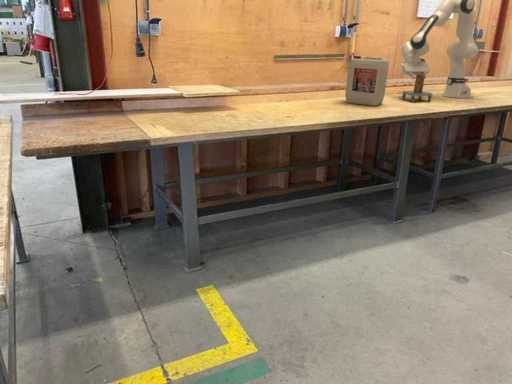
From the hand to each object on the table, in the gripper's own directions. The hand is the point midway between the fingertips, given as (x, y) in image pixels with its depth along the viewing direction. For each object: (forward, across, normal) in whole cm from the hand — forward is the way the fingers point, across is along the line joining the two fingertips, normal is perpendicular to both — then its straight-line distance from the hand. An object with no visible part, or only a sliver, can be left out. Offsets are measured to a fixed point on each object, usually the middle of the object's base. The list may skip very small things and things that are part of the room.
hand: (419, 78), depth 291 cm
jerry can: (+13, -44, +9) cm, 47 cm away
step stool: (+11, 0, +10) cm, 15 cm away
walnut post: (+7, 0, +6) cm, 9 cm away
